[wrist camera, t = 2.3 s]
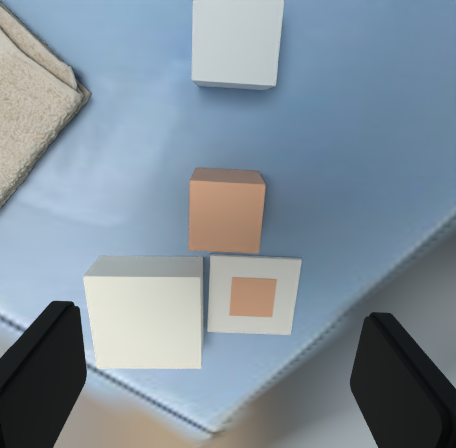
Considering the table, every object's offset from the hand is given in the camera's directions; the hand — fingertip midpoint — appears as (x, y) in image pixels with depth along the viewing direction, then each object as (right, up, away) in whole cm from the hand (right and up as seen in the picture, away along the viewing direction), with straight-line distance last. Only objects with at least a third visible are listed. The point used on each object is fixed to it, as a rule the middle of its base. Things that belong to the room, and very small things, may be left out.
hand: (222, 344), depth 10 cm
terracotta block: (0, +6, +16) cm, 17 cm away
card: (+2, -3, +19) cm, 19 cm away
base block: (-7, -3, +19) cm, 21 cm away
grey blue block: (+1, +16, +12) cm, 20 cm away
